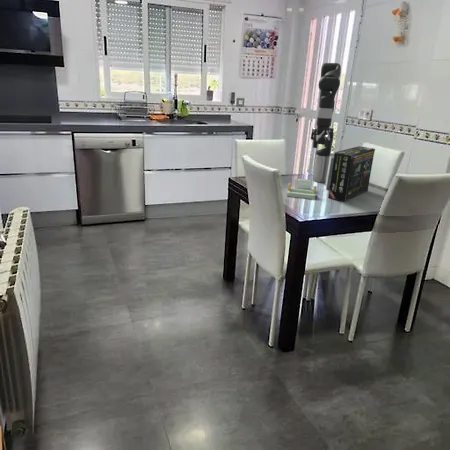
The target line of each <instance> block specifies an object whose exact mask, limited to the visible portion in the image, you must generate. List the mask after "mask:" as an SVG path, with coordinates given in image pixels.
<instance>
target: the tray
mask: <svg viewBox="0 0 450 450" xmlns="http://www.w3.org/2000/svg"><path fill="white" fill-rule="evenodd" d="M316 194H317V186H316V185H314V186H313V188H312V189H311V190H303V189H294V187H293V188H292V183H290V182H289V183H288V184H287V192H286V197H293V198H298V199H299V198H302V199H308V200H316Z"/></svg>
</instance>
